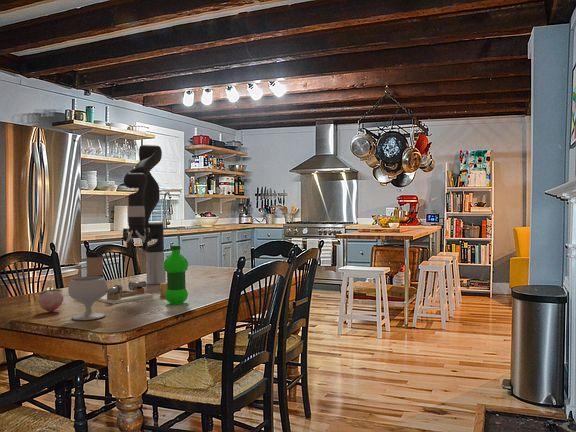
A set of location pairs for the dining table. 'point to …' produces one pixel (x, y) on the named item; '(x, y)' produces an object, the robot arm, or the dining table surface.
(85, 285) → the chalice
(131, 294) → the pale beige flat slab
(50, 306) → the decorative fruit
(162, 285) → the coupler
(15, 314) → the dining table surface
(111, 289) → the grey rounded block
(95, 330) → the dining table surface
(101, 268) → the travel mug
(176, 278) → the plastic bottle
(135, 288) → the shaft
